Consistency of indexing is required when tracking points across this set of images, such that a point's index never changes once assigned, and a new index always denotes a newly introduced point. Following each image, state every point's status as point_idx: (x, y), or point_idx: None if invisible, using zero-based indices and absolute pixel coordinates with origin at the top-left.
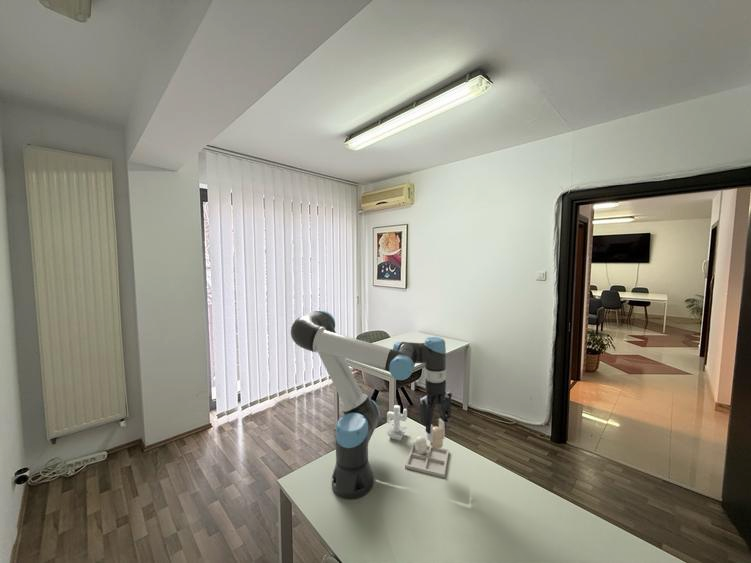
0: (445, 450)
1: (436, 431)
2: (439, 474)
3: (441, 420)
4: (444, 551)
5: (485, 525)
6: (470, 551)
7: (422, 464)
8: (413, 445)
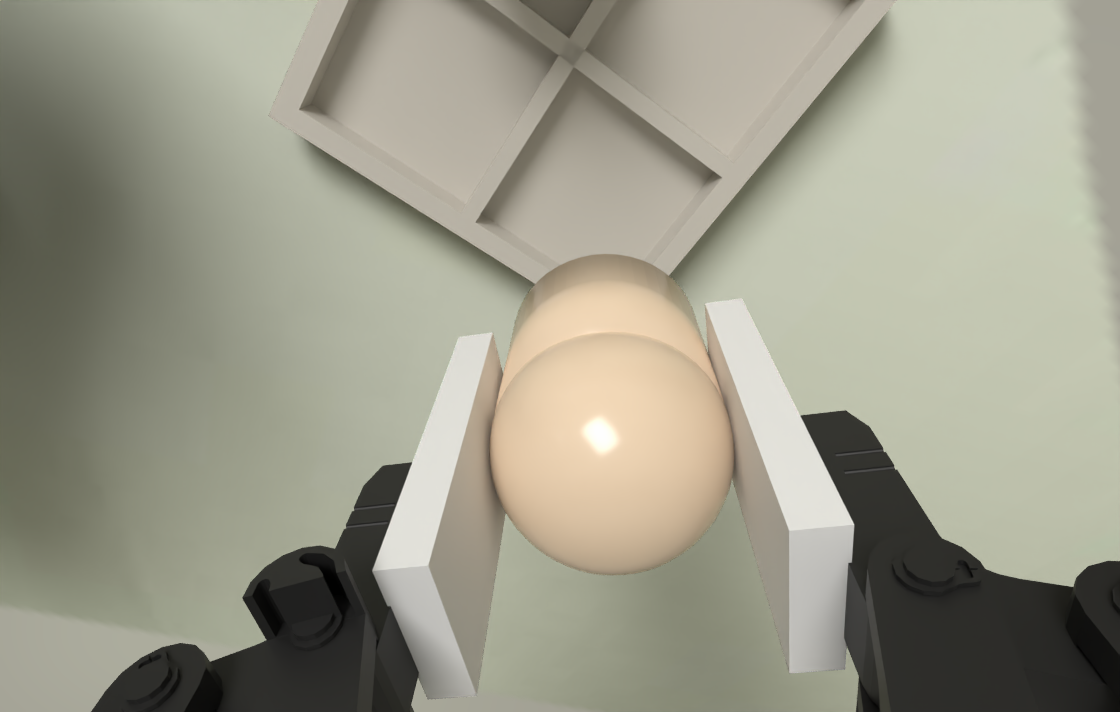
0: None
1: (573, 567)
2: None
3: (818, 604)
4: None
5: (661, 623)
6: (513, 683)
7: (484, 109)
8: None
